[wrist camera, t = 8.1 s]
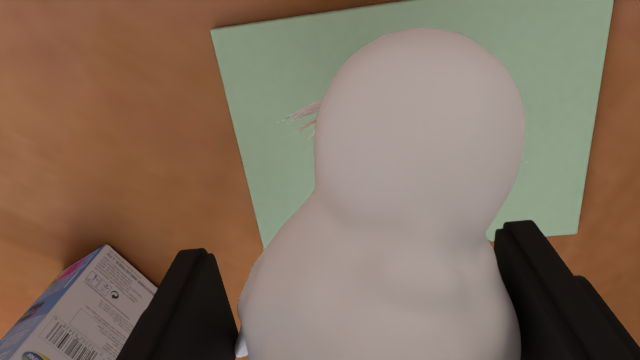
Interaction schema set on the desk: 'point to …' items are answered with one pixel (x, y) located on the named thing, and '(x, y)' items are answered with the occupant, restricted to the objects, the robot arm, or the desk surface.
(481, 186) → the white figurine
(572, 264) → the desk surface
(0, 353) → the ink cartridge box
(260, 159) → the desk mat
